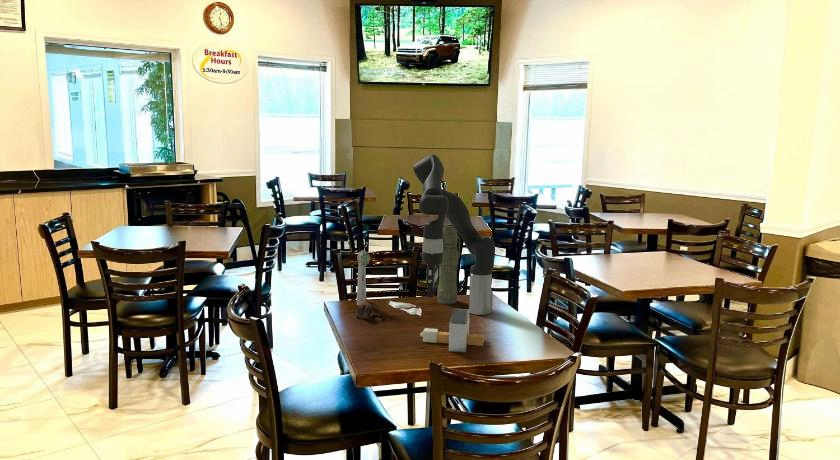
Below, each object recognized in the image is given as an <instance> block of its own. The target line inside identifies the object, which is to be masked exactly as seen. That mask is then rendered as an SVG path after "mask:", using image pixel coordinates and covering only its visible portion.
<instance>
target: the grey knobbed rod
mask: <svg viewBox="0 0 840 460" xmlns="http://www.w3.org/2000/svg"><path fill="white" fill-rule="evenodd" d="M356 257H357V262H358V269H357V270H358V271H357V291H356V306H357V305H358V306H359V304H360V303H361V302H363V301H365V299H368V297H367V282H366V281H367V278H366V277H367V276H366V275H367V273H366V267H367V266H368V265H369V263H370V261H371V256H370V254H369V252H367V251H366V250H361V251H359V252H358V255H357V256H356ZM358 306H357V307H358Z"/></svg>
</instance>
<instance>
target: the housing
mask: <svg viewBox="0 0 840 460" xmlns="http://www.w3.org/2000/svg"><path fill="white" fill-rule="evenodd" d="M450 314H451V316H450V320H449V325H448V329H449V330H448V332H449V343H448V352H453V353H455V352H457V353H467V348H468V345H467V334H470V316H471V315H470V314H471V313H470V310H469V308H467V309H464V308H452V312H451V313H450Z"/></svg>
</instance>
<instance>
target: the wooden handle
mask: <svg viewBox="0 0 840 460" xmlns="http://www.w3.org/2000/svg"><path fill="white" fill-rule="evenodd" d="M419 337H422V342H423V343H434V344H435V343H436V344H437V343H441V344H449V331H447V332H446V331H439V329H438V328H427V327H425V328H424V329H423V331H421V332H420V333H419ZM484 340H485V336H484V334H477V333H476V334H474V333H469V334H467V346H477V347H478V346H479V347H480V346H481V347H484V344H485V343H484V342H485V341H484Z"/></svg>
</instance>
